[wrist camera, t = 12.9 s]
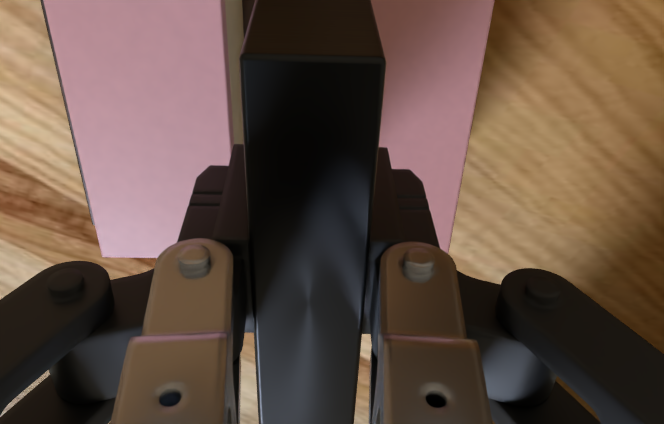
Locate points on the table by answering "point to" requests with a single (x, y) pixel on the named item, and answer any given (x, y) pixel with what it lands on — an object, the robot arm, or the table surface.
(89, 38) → the cake
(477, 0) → the slice
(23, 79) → the table surface
